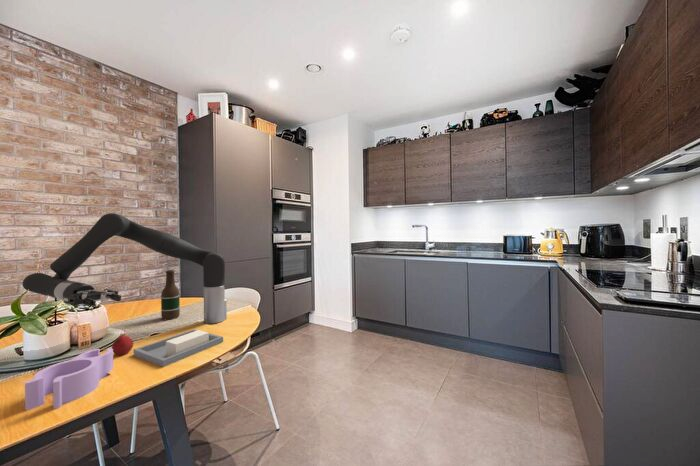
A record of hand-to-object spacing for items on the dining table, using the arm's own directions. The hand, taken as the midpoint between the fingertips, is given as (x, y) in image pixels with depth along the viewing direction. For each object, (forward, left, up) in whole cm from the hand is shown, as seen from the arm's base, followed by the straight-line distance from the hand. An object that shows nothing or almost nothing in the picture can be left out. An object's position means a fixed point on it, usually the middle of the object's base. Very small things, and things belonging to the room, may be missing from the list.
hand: (107, 300), depth 100 cm
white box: (-14, +25, -18) cm, 34 cm away
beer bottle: (-35, -23, -19) cm, 46 cm away
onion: (-2, +6, -19) cm, 21 cm away
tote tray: (-14, +20, -19) cm, 31 cm away
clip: (+14, +17, -20) cm, 30 cm away
